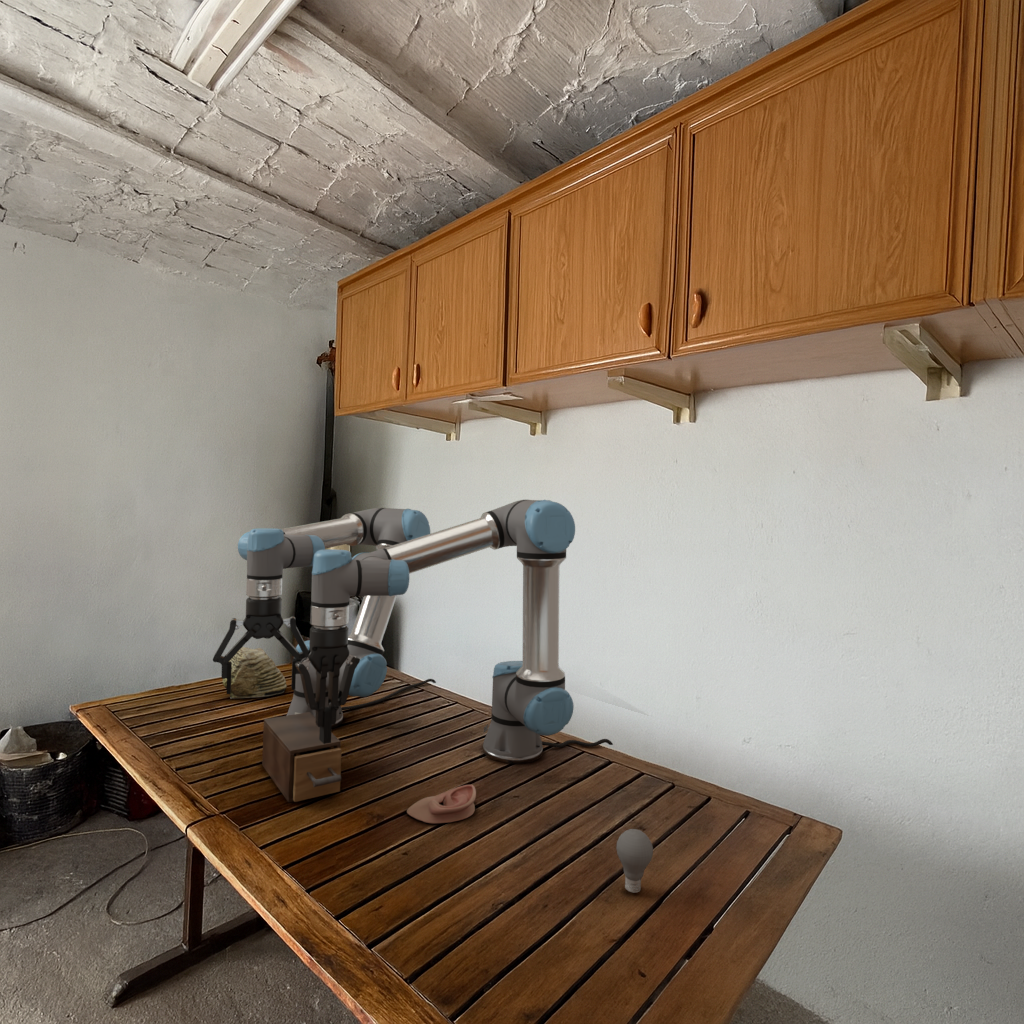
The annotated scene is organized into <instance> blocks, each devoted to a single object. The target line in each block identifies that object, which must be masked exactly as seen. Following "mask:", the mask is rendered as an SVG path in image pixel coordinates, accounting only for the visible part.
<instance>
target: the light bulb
mask: <svg viewBox="0 0 1024 1024" xmlns="http://www.w3.org/2000/svg"><path fill="white" fill-rule="evenodd" d="M615 849H616V854H617V857H618V859H619V861H620V863H621V865H622V867H623V873H624V874H623V875H624V876H625V878H624V888H625V890H627V891H628V892H630V893H634V894H635V893H639V892H640V891H641V889H642V887H641V886H642V879H643V877H644V875H645V871H646V868H647V867H648V866H649V864H650V863H651V861H652V859H653V855H654V847H653V843H652V841H651V838H649V836H648V835H647V834H646V833H645V832H643V831H642V830H641V829H636V828H629V829H627V830H625V831H623V832H622V833H621V834H620V835H619V837H618V839H617V841H616V847H615Z"/></svg>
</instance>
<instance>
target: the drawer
mask: <svg viewBox="0 0 1024 1024" xmlns="http://www.w3.org/2000/svg"><path fill="white" fill-rule="evenodd" d="M341 774H342V748H335V749H334V747H333V746H332V747H327V748H322V749H317V750H311V751H306V752H301V753H296V754H294V768H293V800H294V801H293V802H294V803H298V802H301V801H305V800H310V799H314V798H318V797H323V796H327V795H330V794H331V795H332V794H335V793H339V792H341V781H342V775H341Z"/></svg>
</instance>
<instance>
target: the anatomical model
mask: <svg viewBox="0 0 1024 1024" xmlns="http://www.w3.org/2000/svg"><path fill="white" fill-rule="evenodd" d="M476 798H477V790H476V787H475V785H473V784H464V785H460V786H458V787H454V788H451V789H449V790H447V791H443V792H442V793H440V794H437V795H434V796H433V795H432V796H427V797H424V798H421V799H419V800H417V801H416V802H415V803H413V804H412V805H411V806H409V807H408V809H407V810H406V814H407V815H409V816H410V817H412V818H414V819H415V820H417V821H421V822H423V823H427V824H445V823H454V822H458V821H462V820H465V819H467V818H469V817H471V816H472V815H473V814H474V813H475V809H476V807H475V806H476V805H475V803H474V802H475V800H476Z"/></svg>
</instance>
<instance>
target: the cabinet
mask: <svg viewBox="0 0 1024 1024" xmlns="http://www.w3.org/2000/svg"><path fill="white" fill-rule="evenodd" d="M315 722H316V718H315V717H314V716H313V715H312V714H311V713H310V712H307V713H301V714H295V715H288V716H286V715H284V716H275V717H269V718H264V719H263V728H262V729H263V730H262V731H263V734H262V756H261V757H262V760H261V766H262V768H263V769H264V770H265V772H266V773H267V775H269V777H270V778H271V780H272V781H273V783H274V784H275V786H276V787H277V789H278V790H279V792H280V793H281V794H282V795H283V797H284V799H285V800H286V801H287V803H293V802H294V800H293V768H294V754H296V753H301V752H306V751H311V750H317V749H322V748H327V747H332V746H333V747H334V749H335V748H340V749H342V748H341V744H342V741H341V740H340V739H339V738H338V737H337V736H336V735H335V734H334V733H333V732H331V743H326V744H323V743H322V742H321V741H320V740H319V734H320V727H318V726H317V725H316V723H315Z"/></svg>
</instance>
